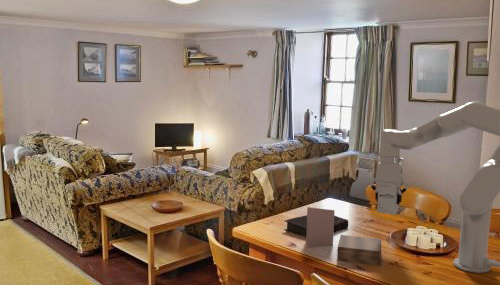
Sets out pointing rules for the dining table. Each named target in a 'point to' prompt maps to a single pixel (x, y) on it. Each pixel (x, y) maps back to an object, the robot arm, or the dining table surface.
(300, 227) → the diary
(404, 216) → the dining table surface
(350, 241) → the walnut box
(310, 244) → the greeting card
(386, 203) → the supplement box
